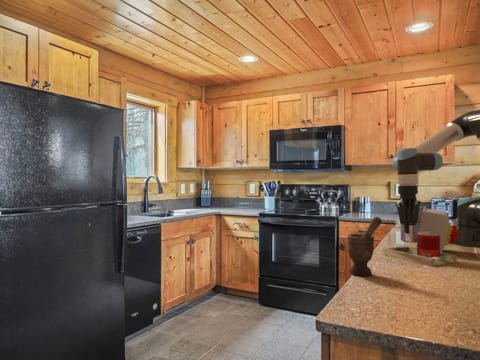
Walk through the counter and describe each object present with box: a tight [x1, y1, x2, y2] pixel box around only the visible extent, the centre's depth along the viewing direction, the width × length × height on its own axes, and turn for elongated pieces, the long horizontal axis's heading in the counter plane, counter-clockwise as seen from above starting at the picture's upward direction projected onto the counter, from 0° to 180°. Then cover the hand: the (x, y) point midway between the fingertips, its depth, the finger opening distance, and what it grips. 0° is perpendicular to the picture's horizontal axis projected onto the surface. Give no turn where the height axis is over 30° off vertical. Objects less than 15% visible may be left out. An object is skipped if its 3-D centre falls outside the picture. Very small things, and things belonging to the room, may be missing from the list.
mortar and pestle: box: [347, 216, 383, 277], centre depth 118 cm, size 12×9×20 cm
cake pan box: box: [399, 206, 428, 242], centre depth 187 cm, size 19×5×18 cm, turn 122°
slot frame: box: [382, 245, 458, 267], centre depth 142 cm, size 15×22×3 cm
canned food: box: [416, 231, 440, 258], centre depth 138 cm, size 8×8×11 cm
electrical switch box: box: [419, 206, 459, 253], centre depth 155 cm, size 15×15×20 cm
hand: (409, 240), depth 147 cm, fingers closed
